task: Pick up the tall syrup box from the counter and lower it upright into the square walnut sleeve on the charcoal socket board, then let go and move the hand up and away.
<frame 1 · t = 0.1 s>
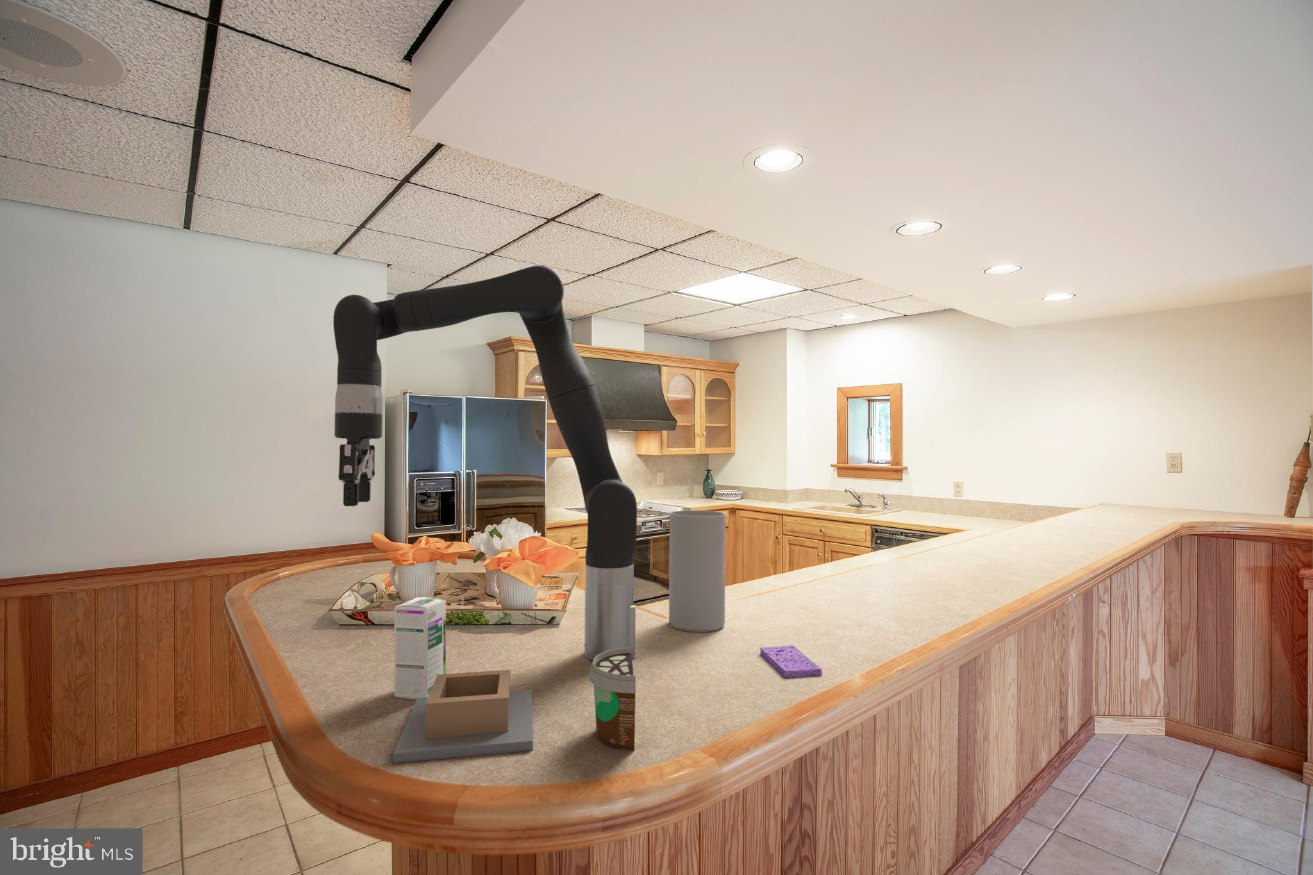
hand: (357, 503, 106), 29 cm above the counter, tool pointing down, fingers open, 8 cm apart
syrup box: (420, 693, 97), on the counter
socket holder: (470, 726, 85), on the counter
sponges: (789, 667, 111), on the counter
cylinder vase: (696, 625, 135), on the counter
food container: (610, 735, 83), on the counter
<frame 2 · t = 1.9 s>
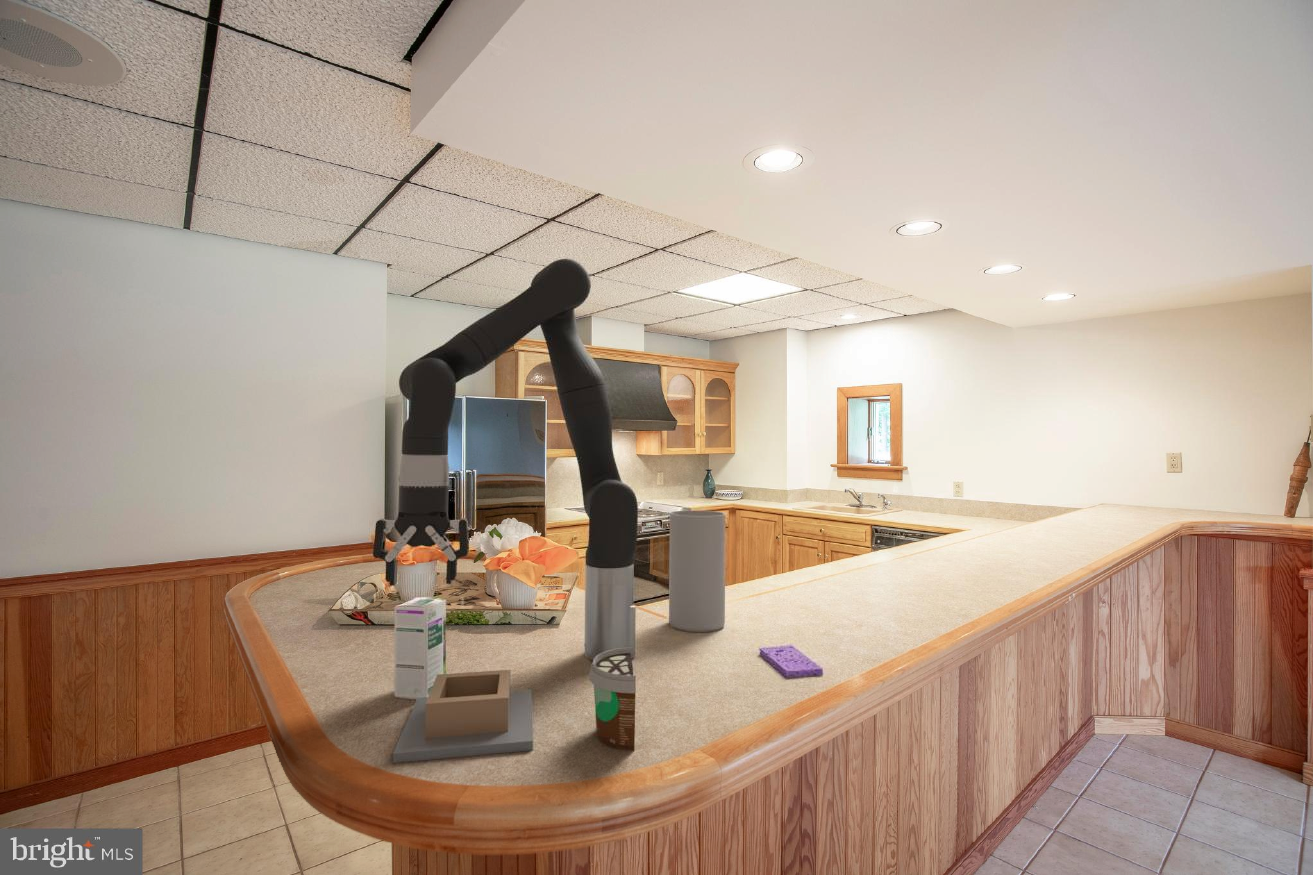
hand: (421, 583, 97), 17 cm above the counter, tool pointing down, fingers open, 8 cm apart
nothing on the counter moved.
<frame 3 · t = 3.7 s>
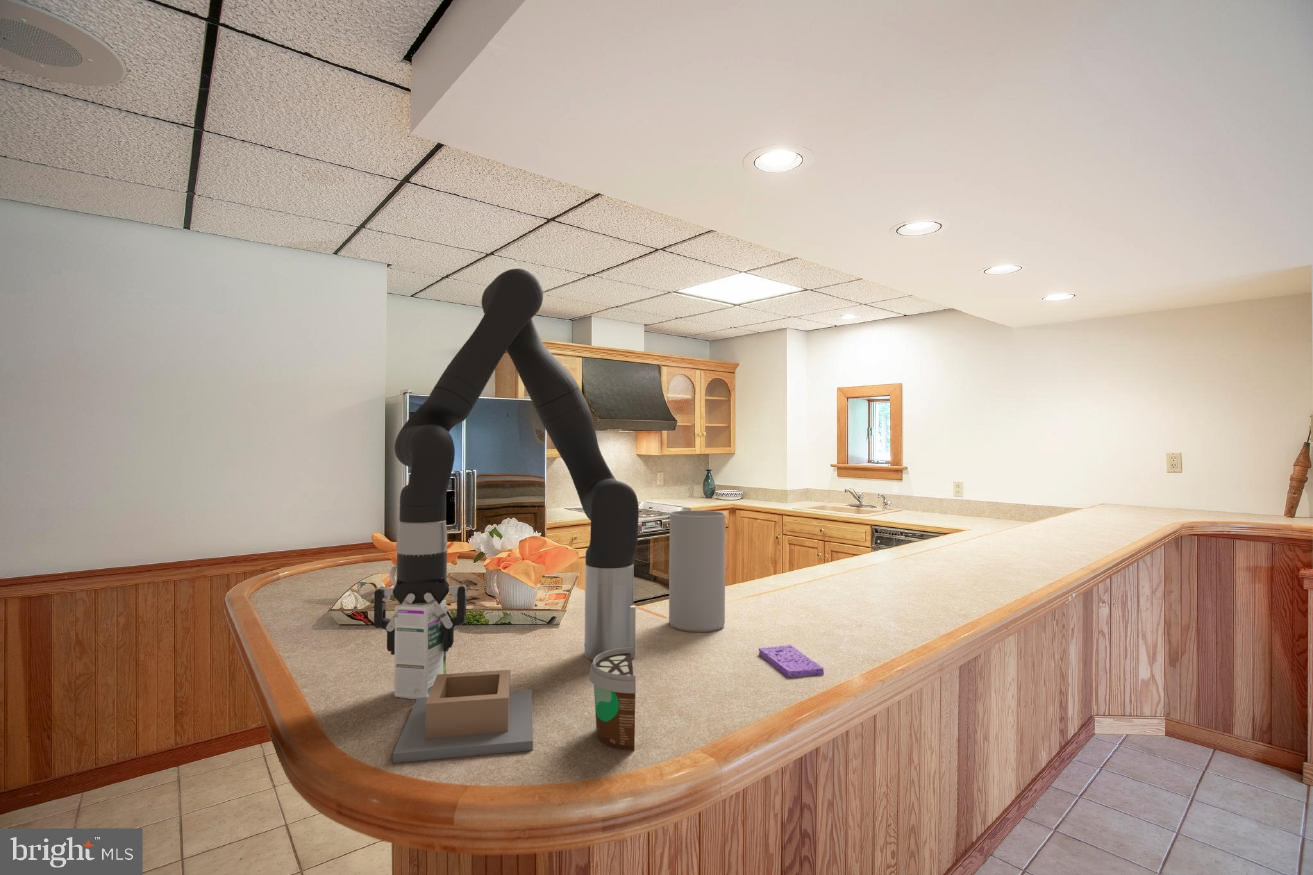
hand: (420, 651, 97), 6 cm above the counter, tool pointing down, fingers closed on syrup box, 7 cm apart
syrup box: (420, 693, 97), on the counter, touching gripper
everything else where it was.
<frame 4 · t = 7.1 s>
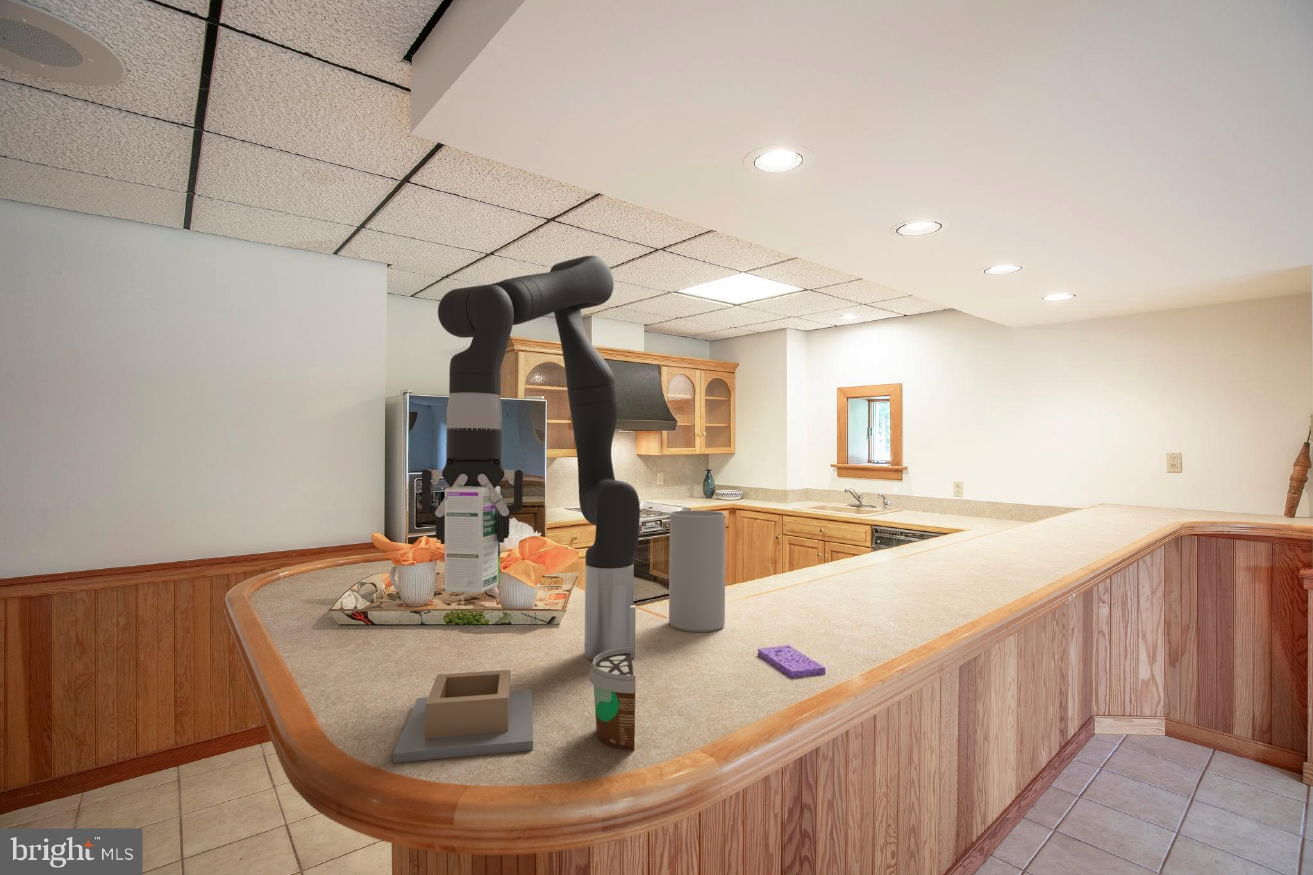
hand: (472, 542, 86), 26 cm above the counter, tool pointing down, fingers closed on syrup box, 7 cm apart
syrup box: (472, 589, 85), point 19 cm above the counter, touching gripper
everything else where it was.
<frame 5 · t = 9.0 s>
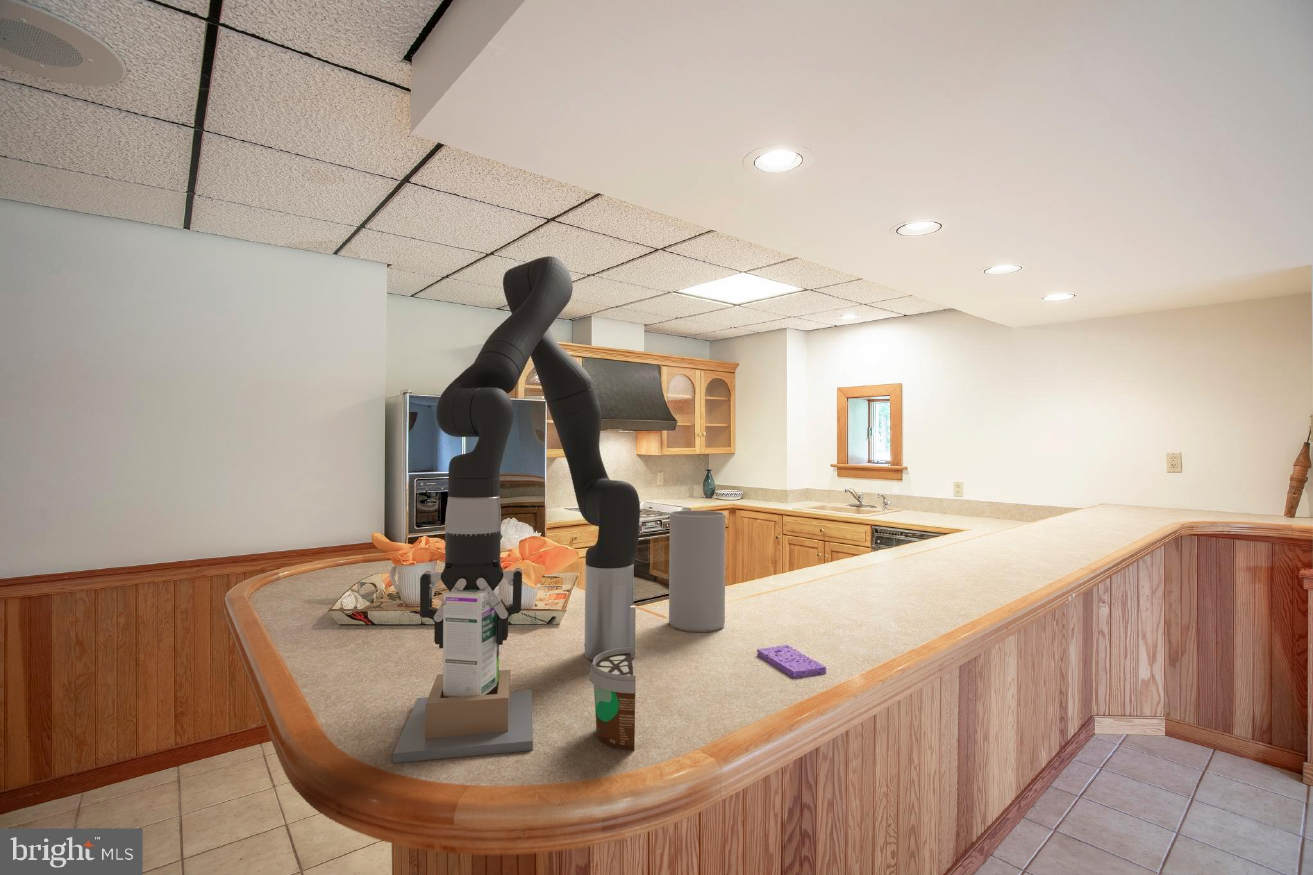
hand: (471, 644, 85), 11 cm above the counter, tool pointing down, fingers closed on syrup box, 7 cm apart
syrup box: (470, 692, 85), point 5 cm above the counter, touching gripper
everything else where it was.
when the fingers open (9 cm above the counter, at t = 10.5 s): syrup box drops 1 cm, resting on socket holder.
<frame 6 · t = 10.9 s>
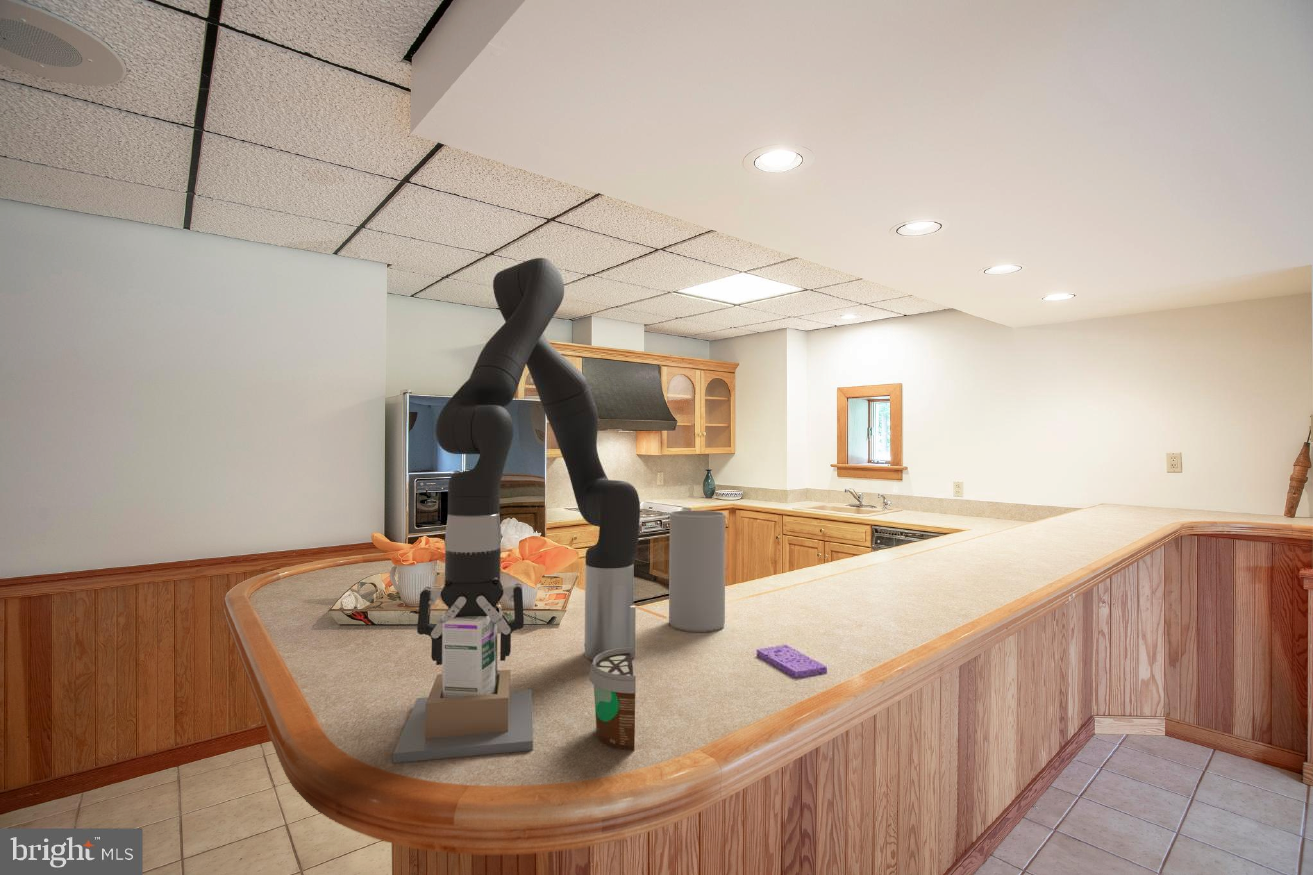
hand: (471, 661, 85), 9 cm above the counter, tool pointing down, fingers open, 8 cm apart
syrup box: (469, 718, 85), point 1 cm above the counter, touching socket holder
everything else where it was.
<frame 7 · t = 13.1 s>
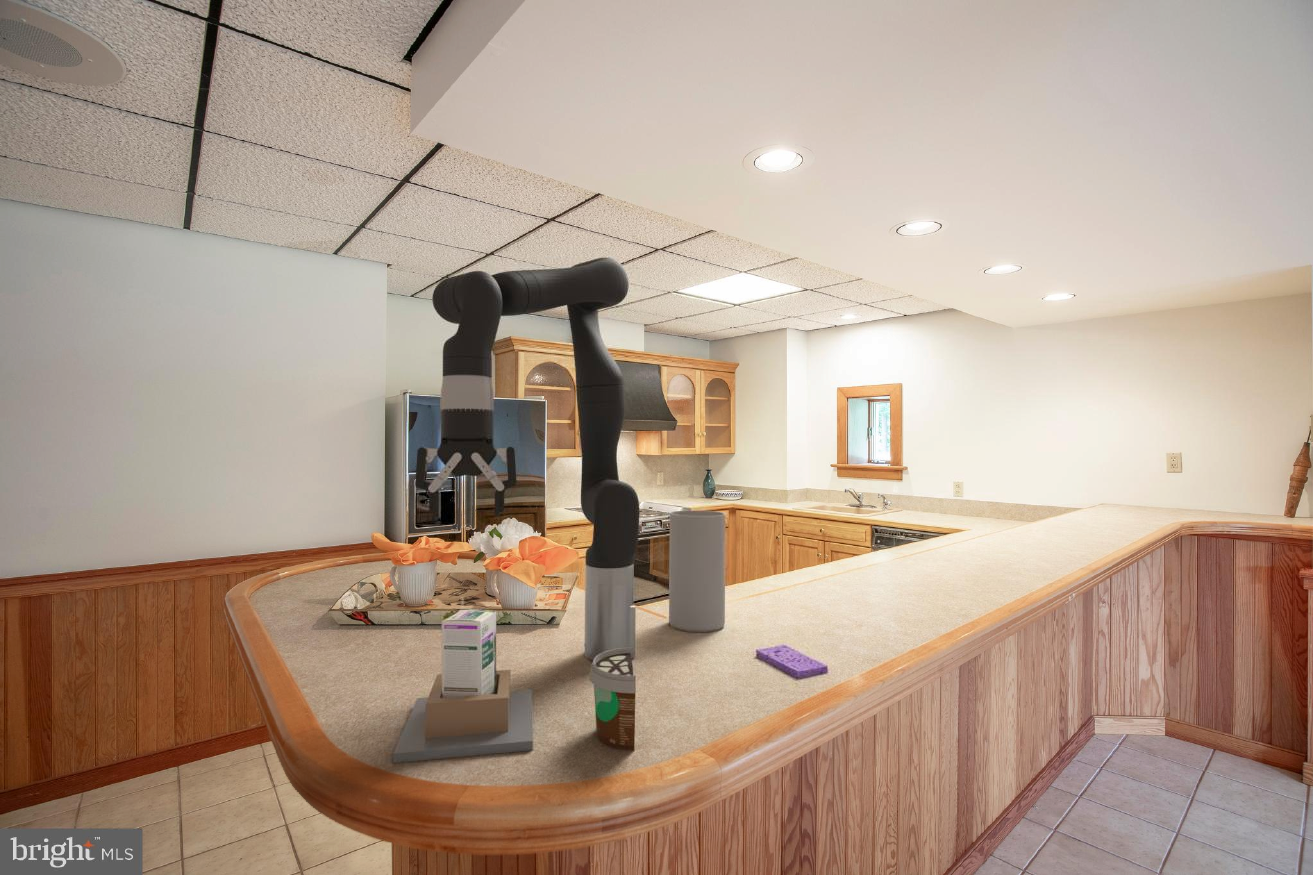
hand: (467, 516, 90), 29 cm above the counter, tool pointing down, fingers open, 8 cm apart
nothing on the counter moved.
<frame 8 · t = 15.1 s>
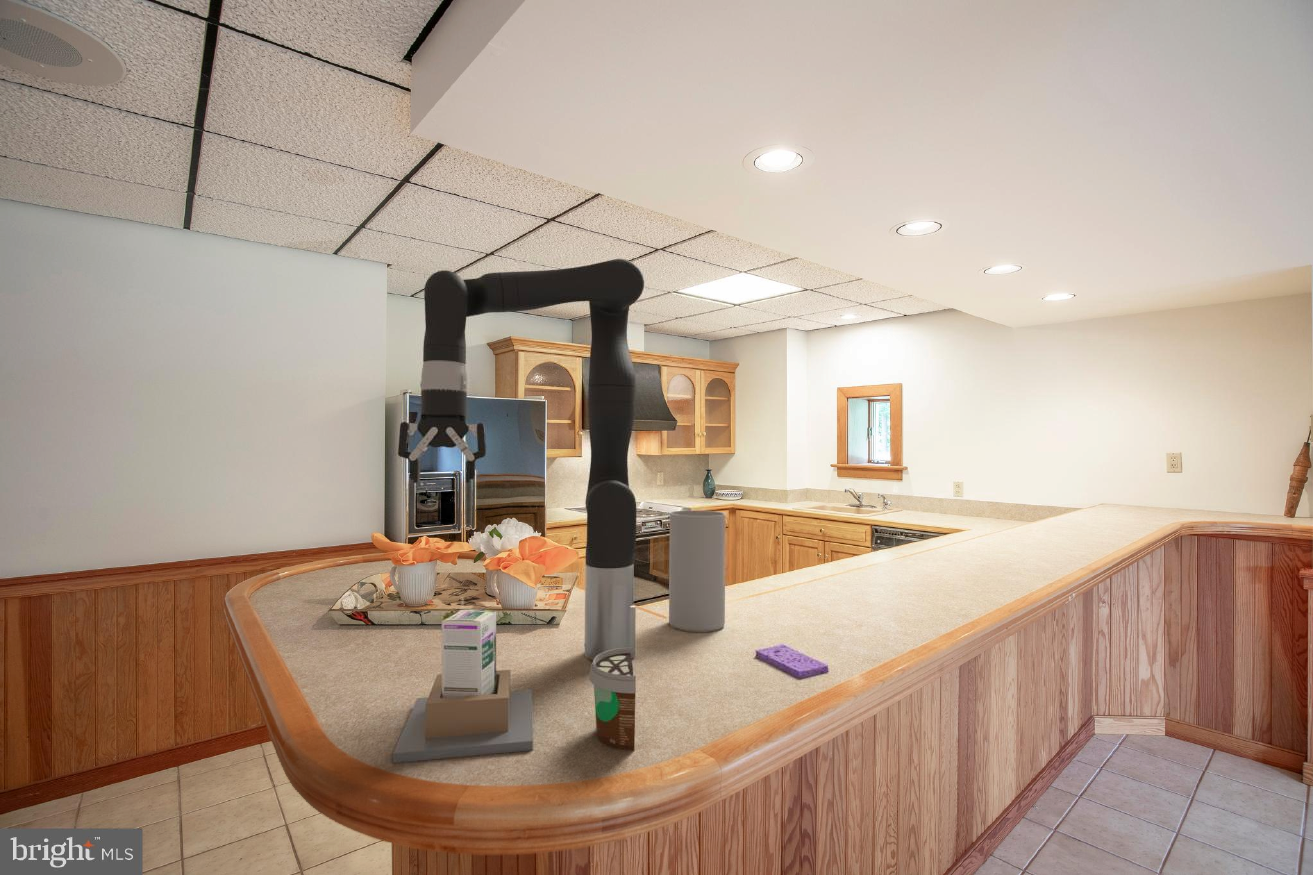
hand: (442, 482, 105), 33 cm above the counter, tool pointing down, fingers open, 8 cm apart
at the end: syrup box 0.2 cm off-centre on the socket holder, point 1.0 cm above the socket holder's base; syrup box tilted 0°; the gripper is holding nothing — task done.
